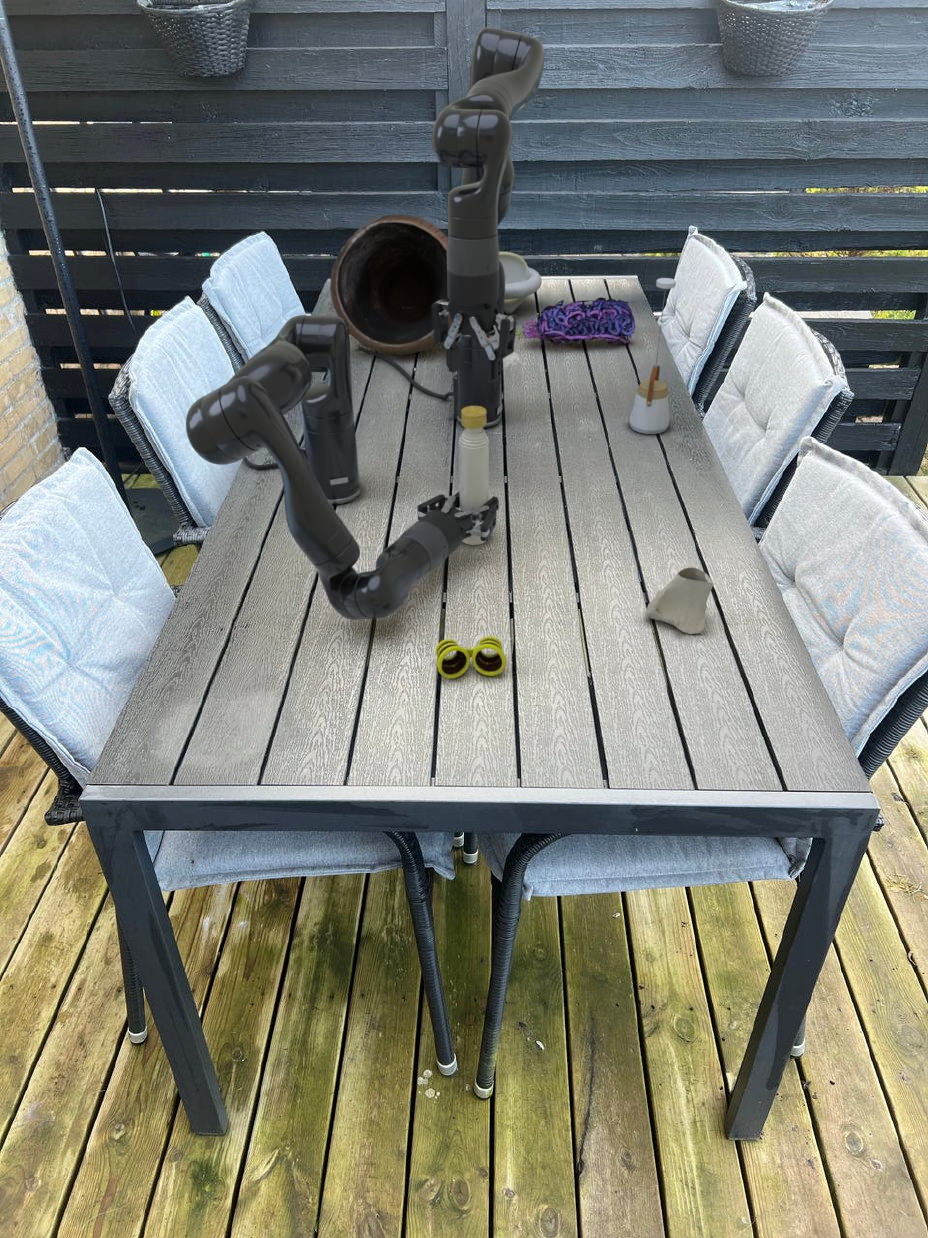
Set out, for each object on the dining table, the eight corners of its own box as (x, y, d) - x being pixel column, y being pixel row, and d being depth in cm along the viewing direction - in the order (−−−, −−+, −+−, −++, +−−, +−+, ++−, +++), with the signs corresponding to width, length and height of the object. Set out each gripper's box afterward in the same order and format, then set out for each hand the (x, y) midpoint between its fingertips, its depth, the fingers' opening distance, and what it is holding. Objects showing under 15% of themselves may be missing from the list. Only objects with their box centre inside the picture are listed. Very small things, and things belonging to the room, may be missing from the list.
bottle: (487, 529, 164) (487, 406, 150) (489, 544, 160) (490, 419, 146) (459, 530, 163) (457, 407, 149) (460, 545, 160) (459, 420, 145)
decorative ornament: (642, 323, 223) (518, 325, 220) (633, 359, 231) (514, 362, 228) (631, 290, 230) (511, 291, 228) (623, 326, 239) (508, 328, 236)
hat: (455, 295, 261) (454, 240, 252) (532, 292, 263) (534, 237, 254) (465, 327, 242) (464, 268, 233) (548, 323, 244) (550, 264, 235)
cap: (485, 417, 150) (485, 405, 149) (487, 428, 147) (487, 415, 146) (460, 418, 150) (460, 406, 149) (462, 429, 147) (462, 416, 146)
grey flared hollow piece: (698, 626, 144) (712, 564, 142) (708, 640, 137) (723, 575, 134) (641, 618, 144) (654, 555, 142) (648, 632, 137) (662, 566, 134)
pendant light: (664, 436, 191) (684, 289, 173) (625, 431, 193) (640, 285, 175) (671, 420, 197) (691, 276, 179) (633, 414, 199) (649, 272, 181)
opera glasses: (501, 660, 136) (501, 629, 134) (506, 678, 131) (506, 646, 129) (435, 664, 136) (434, 634, 133) (438, 682, 131) (436, 651, 129)
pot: (366, 206, 239) (363, 182, 210) (477, 263, 245) (489, 246, 216) (317, 325, 245) (307, 317, 216) (426, 378, 251) (431, 377, 222)
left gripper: (465, 535, 143) (519, 488, 154) (389, 511, 149) (446, 467, 160) (466, 575, 147) (518, 527, 159) (392, 550, 153) (447, 505, 165)
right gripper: (529, 267, 133) (525, 377, 143) (447, 251, 139) (449, 358, 149) (500, 281, 128) (499, 394, 138) (417, 263, 134) (421, 373, 145)
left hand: (481, 497), depth 159 cm, fingers closed on bottle, 5 cm apart
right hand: (473, 375), depth 144 cm, fingers open, 6 cm apart
